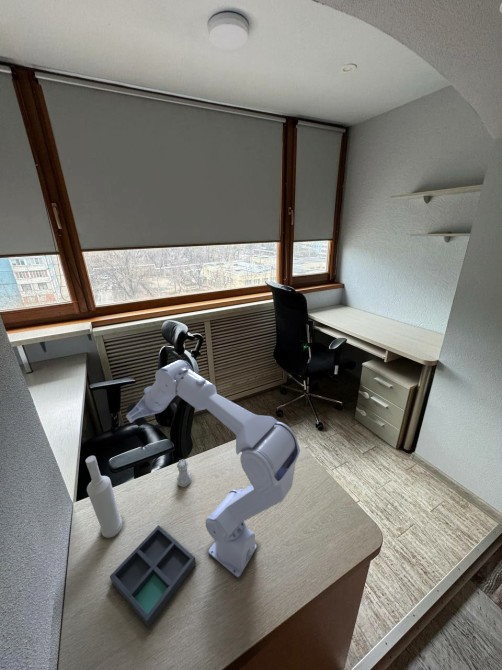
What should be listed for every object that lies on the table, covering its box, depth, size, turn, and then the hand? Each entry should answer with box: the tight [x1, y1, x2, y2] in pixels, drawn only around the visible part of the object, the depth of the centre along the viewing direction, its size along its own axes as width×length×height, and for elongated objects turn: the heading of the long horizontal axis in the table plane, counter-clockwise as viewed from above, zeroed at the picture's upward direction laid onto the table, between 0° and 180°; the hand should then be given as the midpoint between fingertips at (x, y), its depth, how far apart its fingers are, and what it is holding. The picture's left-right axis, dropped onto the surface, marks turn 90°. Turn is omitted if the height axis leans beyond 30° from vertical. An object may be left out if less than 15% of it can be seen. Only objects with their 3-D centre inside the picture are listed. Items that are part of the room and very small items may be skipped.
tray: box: [109, 525, 197, 629], centre depth 62 cm, size 13×13×3 cm
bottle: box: [85, 455, 123, 539], centre depth 68 cm, size 5×5×25 cm
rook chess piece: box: [176, 458, 192, 487], centre depth 84 cm, size 4×4×8 cm
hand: (146, 413), depth 72 cm, fingers open, 7 cm apart
